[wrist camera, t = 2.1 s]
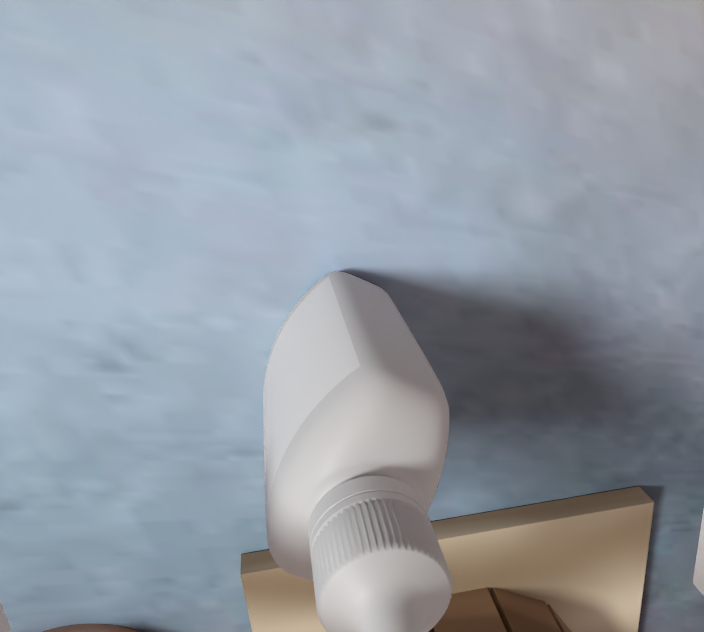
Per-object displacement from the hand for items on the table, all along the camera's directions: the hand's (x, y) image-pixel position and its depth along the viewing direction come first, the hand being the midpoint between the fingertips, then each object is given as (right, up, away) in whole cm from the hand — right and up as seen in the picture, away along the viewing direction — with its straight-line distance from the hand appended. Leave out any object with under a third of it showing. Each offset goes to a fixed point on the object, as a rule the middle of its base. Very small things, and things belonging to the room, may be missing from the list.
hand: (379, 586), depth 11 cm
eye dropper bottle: (-1, +4, +9) cm, 10 cm away
